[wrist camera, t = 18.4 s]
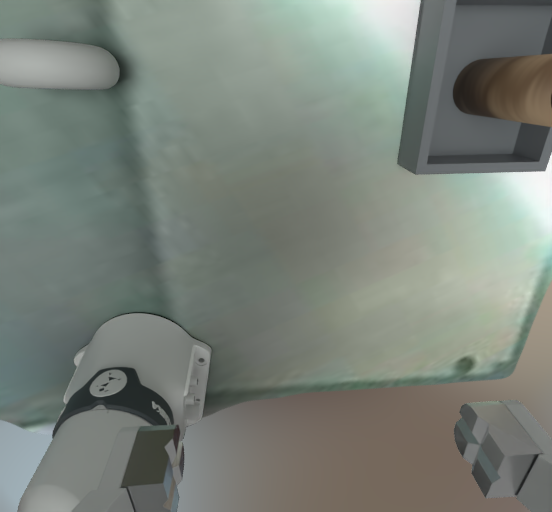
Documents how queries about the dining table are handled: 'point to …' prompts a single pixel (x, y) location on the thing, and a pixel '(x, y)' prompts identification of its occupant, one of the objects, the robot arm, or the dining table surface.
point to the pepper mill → (507, 89)
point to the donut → (56, 65)
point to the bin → (442, 76)
